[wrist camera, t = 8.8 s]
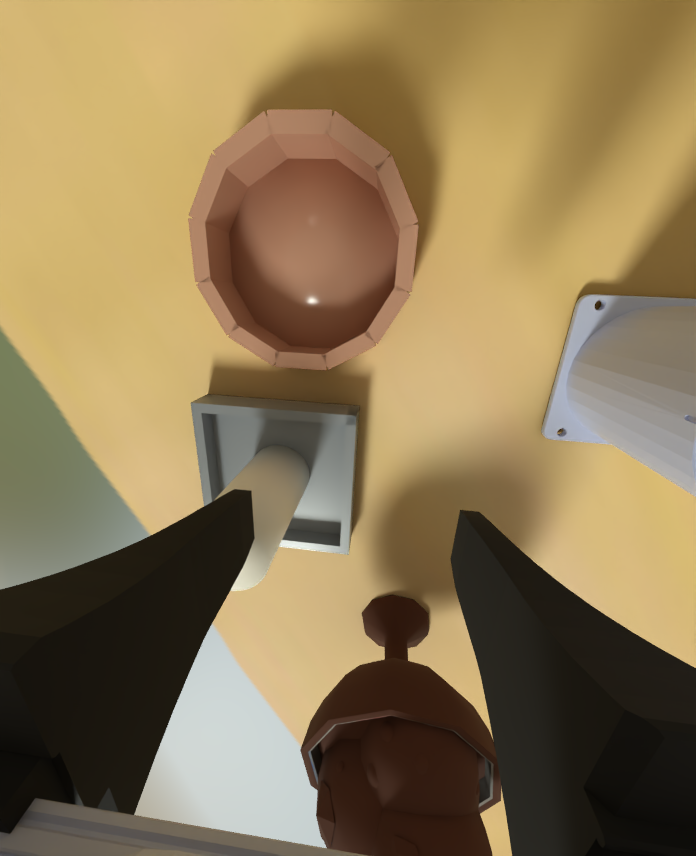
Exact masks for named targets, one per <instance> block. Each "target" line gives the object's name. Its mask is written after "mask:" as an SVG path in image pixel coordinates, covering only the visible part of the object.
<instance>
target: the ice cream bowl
mask: <svg viewBox="0 0 696 856" xmlns="http://www.w3.org/2000/svg"><path fill="white" fill-rule="evenodd" d="M362 617H363V623H364V629H365V633H366V635H367V636H369V637H370V638H371V639H372V640H373V641H374V642H375V643H377V644H378V645H379V646H383V647H385V660H381V661H376V662H371V663H367V664H363V665H359V666H358V667H356V668H355V669H354V670H352V671H351V672H349V673H348V674H346V675H345V676H344V677H343V679H342V680H341V681H340V682H339V683H338V684H337V685H336V687H335V688H334V689H333V690H332V691H331V692H330V693H329V694H328V696H327V697H326V698H325V699H324V700H323V702H322V703H321V705H320V707H319V708H318V710H317V712H316V713H315V715H314V717H313V718H312V720H311V722H310V725H309V728H308V730H307V733H306V736H305V739H304V742H303V744H302V747H301V753H302V757H303V760H304V764H305V767H306V770H307V774H308V777H309V781H310V784H311V786H313V787H314V788H315V789H317V790H318V798H317V813H316V816H317V821H318V825H319V829H320V834H321V837H322V839H323V840H324V842H325V844H326V847H327V849H333V850H339V851H344V852H350V853H356V854H362V855H367V856H492V851H491V847H490V844H489V840H488V837H487V833H486V830H485V827H484V824H483V821H482V819H481V816H480V813H482V812H483V811H485V810H487V809H488V808H490V807H491V806H493V805H495V804H496V803H498V802H499V801H501V780H500V774H499V768H498V762H497V757H496V751H495V746H494V742H493V739H492V737H491V734H490V732H489V729H488V728H487V726H486V725H485V723H484V722H483V720H482V719H481V717H480V716H479V714H478V712H477V711H476V709H475V708H474V706H473V705H472V704H470V703H469V702H468V701H467V700H466V699H465V698H464V697H463V696H462V695H460V694H459V693H458V692H457V691H456V690H455V689H454V688H453V687H451V686H450V685H449V684H448V683H447V682H446V681H445V680H444V679H442V678H441V677H440V676H439V675H438V674H436V673H435V672H434V671H433V670H432V669H430V668H429V667H427V666H424V665H421V664H418V663H414V662H410V661H408V649H407V648H411V647H415V646H417V645H418V644H419V643H420V642H421V641H422V640H423V639H424V638H425V637H426V636H427V635H428V632H429V619H428V612H426V611H425V610H424V609H423V608H422V607H421V606H420V605H419V604H418V603H417V602H416V601H415V600H413V599H408V598H404V597H400V596H395V595H390V596H386V597H382V598H378V599H375V600H372V601H371V602H370V604H369V605H368V606H367V607H366V609H365V610H364V611H363V612H362Z"/></svg>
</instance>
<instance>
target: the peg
mask: <svg viewBox="0 0 696 856" xmlns="http://www.w3.org/2000/svg"><path fill="white" fill-rule="evenodd" d="M309 477H310V474H309V468H308V465H307V463H306V461H305V460H304V458H303V457H302V456H301V455H300V454H299V453H298V452H296V451H295V450H293V449H291V448H289V447H286V446H281V445H272V446H268V447H265V448H263V449H262V450H260V451H259V452H258V453H257V454H256V455H255V456H254V457H253V459H252V460H251V461H250V462H249V463H248V464H247V465H246V466H245V467H244V468H243V469H242V470H241V472H240V473H239V474H238V475H237V476H236V477H235V478H234V479H233V480H232V481H231V482H230V484H229V485H228V486H227V487H226V488H225V489H224V490H223V491H222V492H221V493H220V494H219V495H218V497H217V498H216V499H218V498H219V497H221V496H223V495H224V494H226V493H228V492H230V491H232V490H234V489H240V490H250V491H252V506H253V521H254V536H255V539H254V541H253V544H252V547H251V549H250V552H249V554H248V557H247V559H246V562H245V564H244V566H243V568H242V570H241V572H240V574H239V575H238V577H237V579H236V581H235V583H234V585H233V586H232V588H231V590H230V591H240V590H246V589H249V588H252V587H254V586H255V585H257V584H258V583H260V582H261V581H262V579H263V578H264V577H265V575H266V573H267V571H268V569H269V567H270V564H271V562H272V560H273V558H274V556H275V554H276V552H277V549H278V547H279V545H280V543H281V541H282V539H283V537H284V534H285V532H286V530H287V528H288V526H289V524H290V521H291V519H292V517H293V515H294V513H295V511H296V509H297V506H298V504H299V502H300V500H301V498H302V496H303V494H304V491H305V489H306V487H307V485H308V482H309ZM216 499H215V500H216Z"/></svg>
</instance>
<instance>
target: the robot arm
mask: <svg viewBox="0 0 696 856" xmlns="http://www.w3.org/2000/svg"><path fill="white" fill-rule="evenodd" d="M598 300H600V302H601V306H600V308H599V309H598V310H596V309H595V303H596V302H597V301H598ZM562 428H563V432H562V433H561V434H557V432H558V430H559V429H562ZM541 432H542V435H543V436H545V437H546V438H547V439H551V440H564V441H576V442H588V443H600V444H612V445H613V446H615V447H617V448H618V449H620V450H621V451H623V452H625V453H626V454H628V455H629V456H631V457H633V458H634V459H636V460H637V461H639V462H641V463H642V464H644V465H645V466H647V467H649V468H650V469H652V470H653V471H655V472H657V473H658V474H660V475H661V476H663V477H665V478H666V479H668V480H669V481H671V482H673V483H674V484H676V485H677V486H679V487H681V488H682V489H684V490H685V491H687V492H689V493H690V494H692V495H693V496H695V497H696V299H690V298H668V297H645V296H622V295H599V294H588V295H584V296H582V297H580V298H579V300H578V301H577V303H576V306H575V309H574V313H573V316H572V320H571V324H570V327H569V331H568V335H567V338H566V342H565V346H564V349H563V353H562V356H561V360H560V364H559V367H558V371H557V375H556V378H555V382H554V386H553V389H552V393H551V396H550V400H549V404H548V407H547V411H546V415H545V418H544V422H543V426H542V429H541ZM254 539H255V536H254V521H253V506H252V491H250V490H240V489H234V490H232V491H230V492H228V493H226V494H224V495H223V496H221V497H219V498H218V499H216V500H214V501H212V502H211V503H209V504H207V505H206V506H204V507H202V508H201V509H199V510H197V511H195V512H194V513H192V514H190V515H189V516H187V517H185V518H183V519H182V520H180V521H178V522H176V523H174V524H172V525H170V526H168V527H167V528H165V529H163V530H161V531H159V532H157V533H155V534H153V535H151V536H149V537H147V538H145V539H143V540H141V541H139V542H137V543H134V544H132V545H130V546H127V547H125V548H123V549H121V550H118V551H116V552H114V553H111V554H109V555H106V556H103V557H101V558H98V559H95V560H93V561H90V562H87V563H85V564H82V565H80V566H77V567H74V568H71V569H68V570H65V571H62V572H59V573H56V574H53V575H50V576H47V577H43V578H40V579H37V580H33V581H30V582H27V583H23V584H20V585H16V586H13V587H9V588H5V589H1V590H0V856H367V855H362V854H356V853H350V852H344V851H339V850H333V849H327V848H321V847H315V846H309V845H304V844H298V843H292V842H286V841H280V840H275V839H269V838H263V837H258V836H252V835H246V834H240V833H234V832H228V831H223V830H217V829H211V828H205V827H200V826H194V825H187V824H182V823H176V822H171V821H165V820H159V819H153V818H147V817H141V816H136V815H134V813H135V811H136V808H137V805H138V802H139V800H140V797H141V794H142V791H143V789H144V786H145V783H146V780H147V778H148V775H149V772H150V770H151V767H152V764H153V761H154V759H155V756H156V753H157V751H158V748H159V746H160V743H161V741H162V738H163V736H164V733H165V730H166V728H167V725H168V723H169V720H170V718H171V715H172V712H173V710H174V707H175V705H176V703H177V700H178V698H179V696H180V693H181V691H182V688H183V686H184V684H185V681H186V679H187V676H188V674H189V672H190V669H191V667H192V665H193V662H194V660H195V658H196V656H197V653H198V651H199V649H200V647H201V644H202V642H203V640H204V638H205V636H206V634H207V632H208V630H209V628H210V626H211V624H212V622H213V621H214V619H215V617H216V615H217V613H218V612H219V610H220V608H221V606H222V604H223V603H224V601H225V599H226V597H227V595H228V594H229V592H230V590H231V588H232V586H233V585H234V583H235V581H236V579H237V577H238V575H239V574H240V572H241V570H242V568H243V566H244V564H245V562H246V559H247V557H248V554H249V552H250V549H251V547H252V544H253V541H254ZM451 564H452V571H453V577H454V583H455V588H456V592H457V595H458V599H459V602H460V605H461V609H462V612H463V616H464V619H465V622H466V626H467V629H468V632H469V636H470V639H471V642H472V646H473V649H474V652H475V656H476V659H477V663H478V667H479V671H480V675H481V679H482V684H483V689H484V694H485V699H486V704H487V709H488V714H489V719H490V724H491V730H492V735H493V740H494V746H495V751H496V757H497V762H498V768H499V774H500V780H501V786H502V792H503V798H504V804H505V810H506V816H507V823H508V830H509V836H510V843H511V850H512V856H696V668H694V667H692V666H690V665H689V664H687V663H685V662H683V661H681V660H680V659H678V658H676V657H674V656H672V655H671V654H669V653H667V652H665V651H663V650H662V649H660V648H658V647H656V646H655V645H653V644H651V643H650V642H648V641H646V640H645V639H643V638H641V637H639V636H638V635H636V634H634V633H633V632H631V631H630V630H628V629H626V628H625V627H623V626H622V625H620V624H619V623H617V622H615V621H614V620H612V619H611V618H609V617H607V616H606V615H604V614H603V613H601V612H600V611H598V610H597V609H595V608H594V607H592V606H591V605H589V604H588V603H587V602H585V601H584V600H583V599H581V598H580V597H578V596H577V595H576V594H574V593H573V592H571V591H570V590H569V589H567V588H566V587H565V586H563V585H562V584H561V583H559V582H558V581H557V580H555V579H554V578H553V577H552V576H550V575H549V574H548V573H547V572H546V571H544V570H543V569H542V568H541V567H539V566H538V565H537V564H536V563H535V562H533V561H532V560H531V559H530V558H529V557H528V556H527V555H525V554H524V553H523V552H522V551H521V550H520V549H519V548H518V547H516V546H515V545H514V544H513V543H512V542H511V541H510V540H509V539H508V538H507V537H506V536H505V535H504V534H502V533H501V532H500V531H499V530H498V529H497V528H496V527H495V526H494V525H493V524H492V523H491V522H490V521H489V520H488V519H486V518H485V517H484V516H483V515H482V514H481V513H480V512H475V511H464V510H460V514H459V519H458V524H457V529H456V534H455V539H454V544H453V549H452V555H451Z"/></svg>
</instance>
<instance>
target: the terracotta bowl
mask: <svg viewBox="0 0 696 856" xmlns="http://www.w3.org/2000/svg"><path fill="white" fill-rule="evenodd" d="M213 151H214V153H215V155H216V156H214V155H213V154H212V153H211V156H210V158H209V161H208V164H207V166H206V169H205V172H204V175H203V177H202V180H201V183H200V186H199V188H198V191H197V194H196V197H195V199H194V202H193V205H192V207H191V210H190V213H189V216H191V217H192V218H194V219H190V218H188V221H189V230H190V239H191V248H192V257H193V266H194V275H195V282H200V283H198V284H197V287H198V288H199V290H200V292H201V293H202V295H203V297H204V298H205V300H206V302H207V303H208V305H209V307H210V308H211V310H212V312H213V313H214V315H215V317H216V318H217V320H218V322H219V323H220V325H221V327H222V328H223V330H224V332H225V333H226V335H229V334H230V335H229V338H231V339H232V340H234V341H235V342H237V343H238V344H240V345H242V346H243V347H245V348H246V349H248V350H249V351H251V352H252V353H254V354H255V355H257V356H258V357H260V358H262V359H263V360H265V361H266V362H268V363H269V364H271V365H272V366H274V365H276V367H285V368H299V369H314V370H327V369H331V368H333V367H335V366H337V365H339V364H341V363H343V362H345V361H347V360H349V359H351V358H353V357H355V356H357V355H359V354H361V353H363V352H365V351H367V350H369V349H371V348H372V347H374V346H376V343H377V344H378V343H379V341H380V340H381V338H382V337H383V335H384V334H385V332H386V331H387V329H388V328H389V326H390V325H391V323H392V322H393V320H394V319H395V317H396V316H397V314H398V313H399V311H400V310H401V308H402V307H403V305H404V304H405V302H406V301H407V299H408V298H409V296H410V294H409V293H410V292H412V283H413V274H414V265H415V255H416V246H417V236H418V227H419V225H417V223H418V219H417V217H416V214H415V212H414V209H413V207H412V204H411V202H410V199H409V197H408V194H407V192H406V189H405V186H404V184H403V181H402V179H401V176H400V174H399V171H398V169H397V166H396V164H395V161H394V159H393V156H392V155H391V156H390V152H389V151H388V150H387V149H385V148H384V147H383V146H381V145H380V144H379V143H377V142H376V141H375V140H373V139H372V138H371V137H369V136H368V135H367V134H365V133H364V132H363V131H361V130H360V129H359V128H357V127H356V126H355V125H354V124H352V123H351V122H350V121H348V120H347V119H346V118H344V117H343V116H342V115H340V114H339V113H338V112H336V111H335V112H334V114H333V111H332V109H279V110H267V115H266V113H265V111H263V112H262V113H261V114H259V115H258V116H257V117H255V118H254V119H253V120H252V121H250V122H249V123H248V124H247V125H245V126H244V127H243V128H241V129H240V130H239V131H238V132H236V133H235V134H234V135H232V136H231V137H230V138H229V139H227V140H226V141H225V142H224V143H222V144H221V145H220V146H218V147H217V148H216V149H215V150H213Z"/></svg>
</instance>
